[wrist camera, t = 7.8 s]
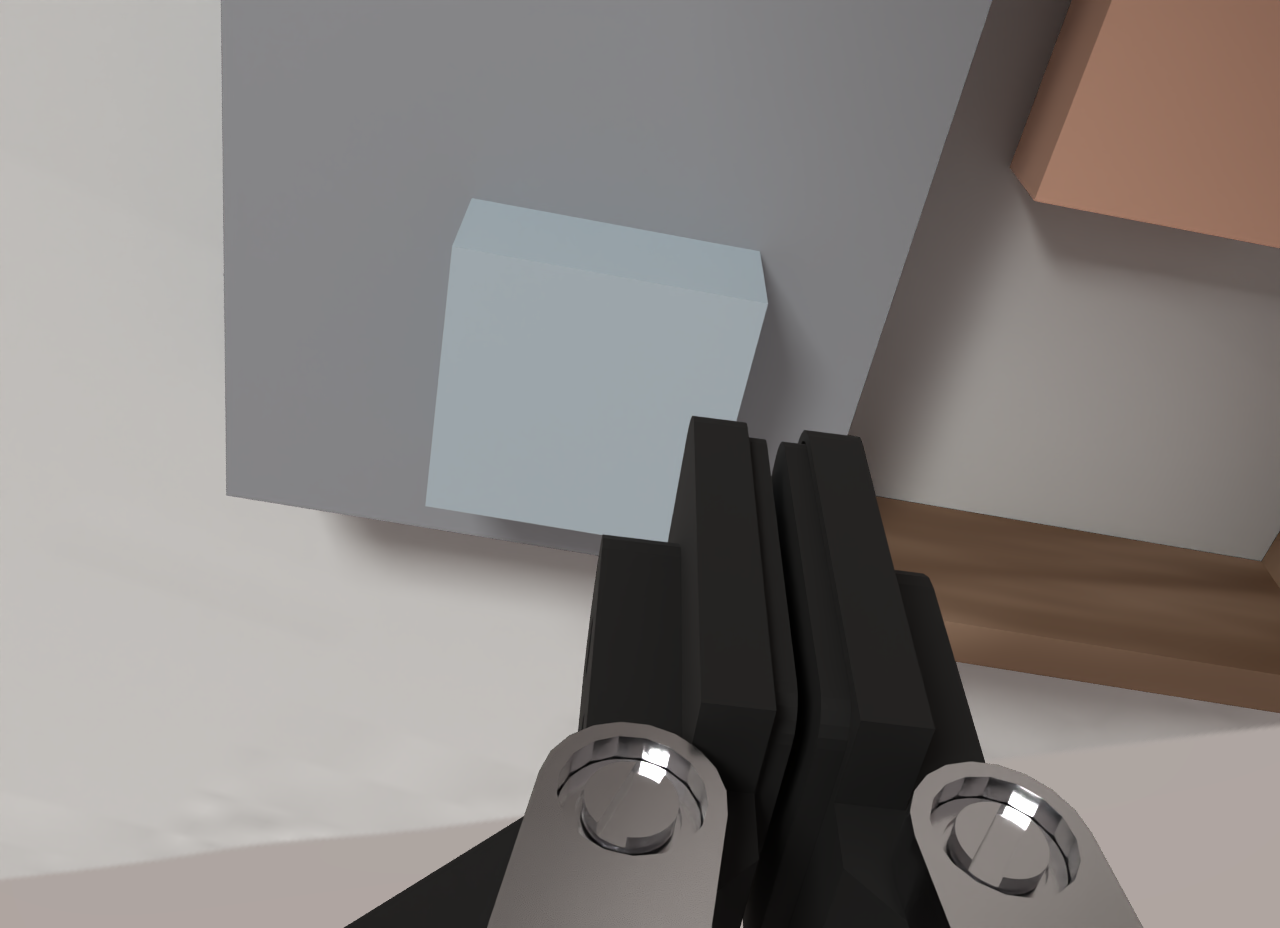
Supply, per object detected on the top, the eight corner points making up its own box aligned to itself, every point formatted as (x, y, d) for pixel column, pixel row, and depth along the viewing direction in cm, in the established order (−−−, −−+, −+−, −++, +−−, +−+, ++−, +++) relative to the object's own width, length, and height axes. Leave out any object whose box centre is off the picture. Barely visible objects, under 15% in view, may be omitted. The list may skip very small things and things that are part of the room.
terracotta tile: (1442, -34, 23) (1377, -57, 25) (1150, -98, 22) (1107, -115, 24) (1292, 250, 26) (1245, 209, 28) (1033, 201, 25) (1005, 163, 28)
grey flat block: (288, -485, 21) (215, -520, 18) (1033, -314, 22) (1098, -317, 19) (274, 410, 31) (226, 495, 28) (784, 496, 32) (796, 587, 29)
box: (1058, -392, 21) (1150, -414, 17) (1797, -218, 23) (2051, -199, 18) (773, 530, 33) (787, 650, 29) (1272, 613, 34) (1355, 740, 30)
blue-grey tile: (471, 197, 24) (451, 246, 22) (759, 251, 24) (767, 303, 22) (444, 443, 27) (425, 506, 25) (699, 486, 27) (701, 551, 25)
